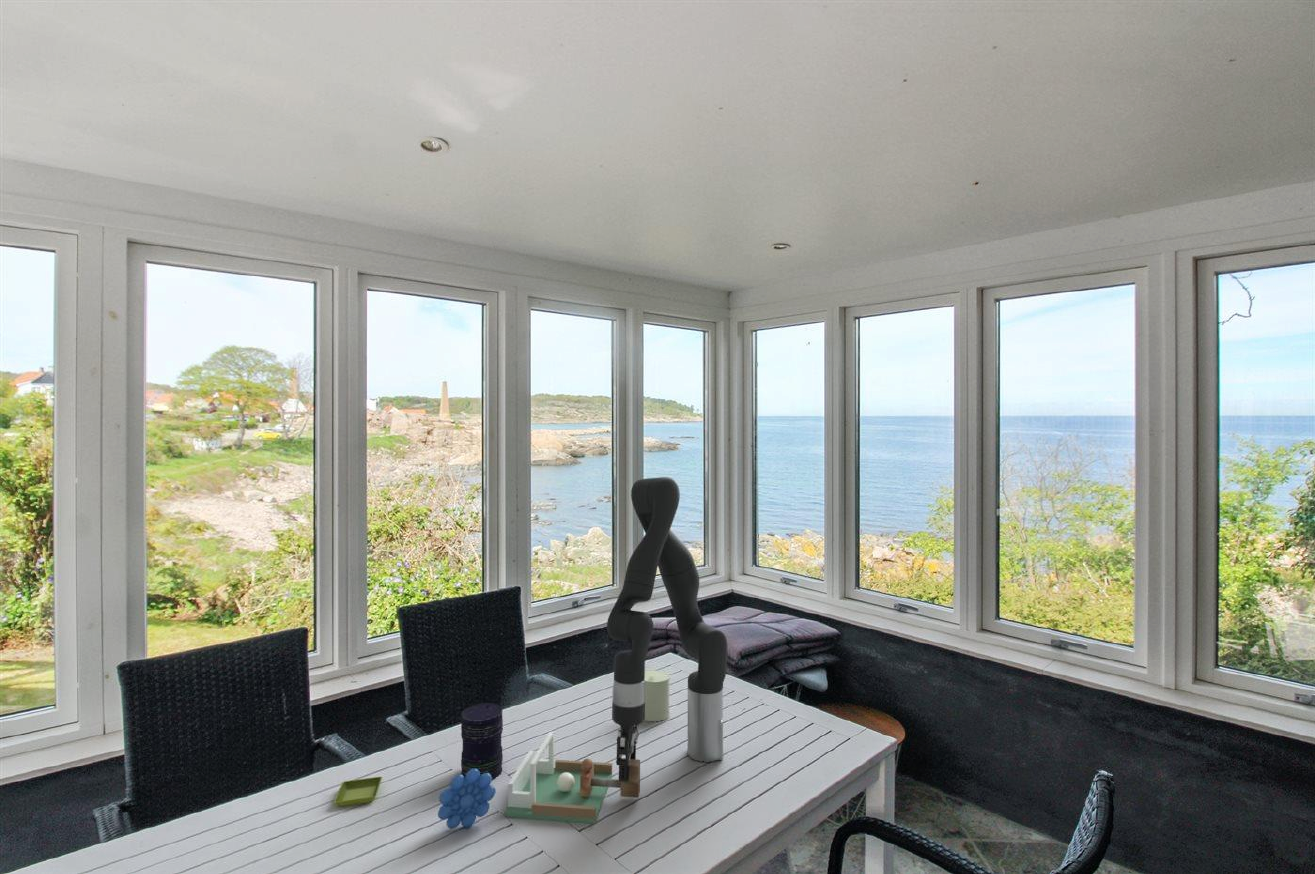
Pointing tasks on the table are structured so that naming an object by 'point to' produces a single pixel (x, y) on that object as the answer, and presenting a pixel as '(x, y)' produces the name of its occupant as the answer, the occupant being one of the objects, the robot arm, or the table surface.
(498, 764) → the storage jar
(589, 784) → the kicker
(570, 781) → the ball
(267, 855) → the table surface
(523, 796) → the pitch
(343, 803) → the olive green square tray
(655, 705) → the can
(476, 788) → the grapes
